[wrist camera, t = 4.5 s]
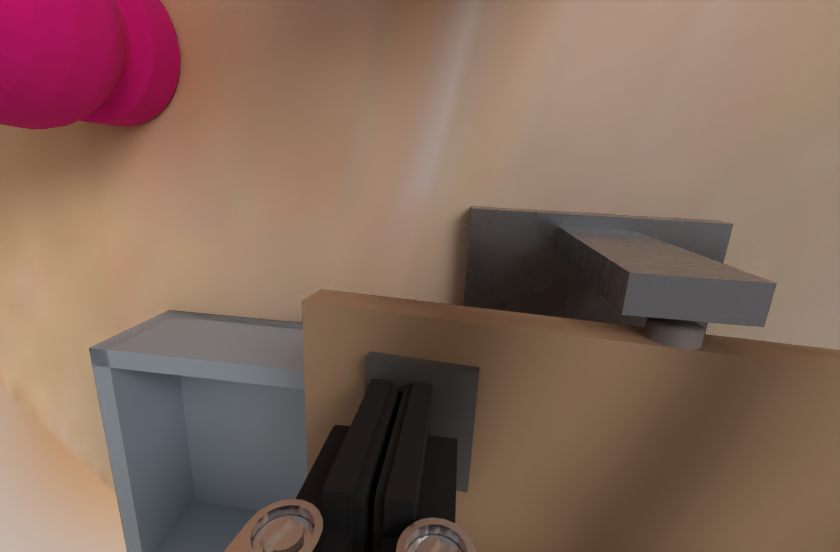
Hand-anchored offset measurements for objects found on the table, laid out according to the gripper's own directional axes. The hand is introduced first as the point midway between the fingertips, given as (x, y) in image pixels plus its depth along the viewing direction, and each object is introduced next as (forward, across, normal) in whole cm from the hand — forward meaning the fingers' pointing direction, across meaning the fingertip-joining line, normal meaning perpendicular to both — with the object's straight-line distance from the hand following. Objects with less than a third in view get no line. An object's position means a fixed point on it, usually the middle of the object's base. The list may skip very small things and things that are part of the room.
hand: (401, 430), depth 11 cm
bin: (+9, +7, +7) cm, 13 cm away
